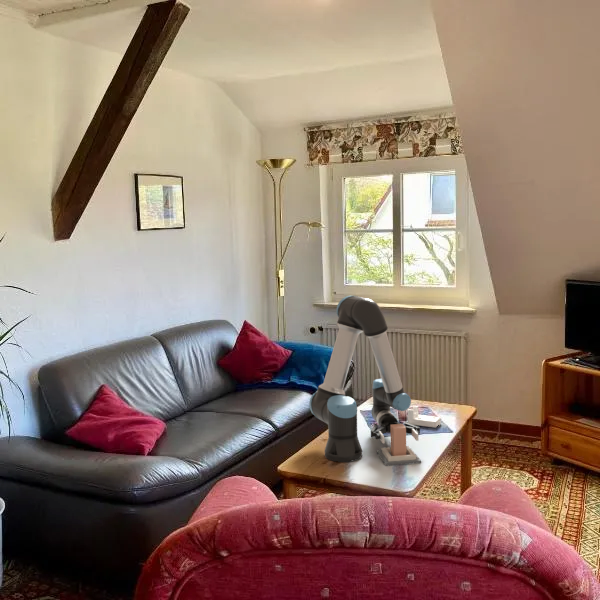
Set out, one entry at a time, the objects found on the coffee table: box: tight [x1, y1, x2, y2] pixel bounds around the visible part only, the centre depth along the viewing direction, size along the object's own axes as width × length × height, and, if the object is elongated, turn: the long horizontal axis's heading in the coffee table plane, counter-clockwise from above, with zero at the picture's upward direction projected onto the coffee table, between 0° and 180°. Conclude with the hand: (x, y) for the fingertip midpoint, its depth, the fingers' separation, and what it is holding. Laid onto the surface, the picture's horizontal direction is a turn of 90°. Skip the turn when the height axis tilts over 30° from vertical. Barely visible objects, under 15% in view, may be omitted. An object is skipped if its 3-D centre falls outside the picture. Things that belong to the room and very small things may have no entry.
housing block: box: [389, 423, 407, 456], centre depth 264 cm, size 5×5×12 cm
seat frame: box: [376, 445, 422, 466], centre depth 264 cm, size 14×14×2 cm
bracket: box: [407, 405, 442, 429], centre depth 303 cm, size 13×7×8 cm, turn 61°
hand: (400, 438), depth 260 cm, fingers open, 13 cm apart
